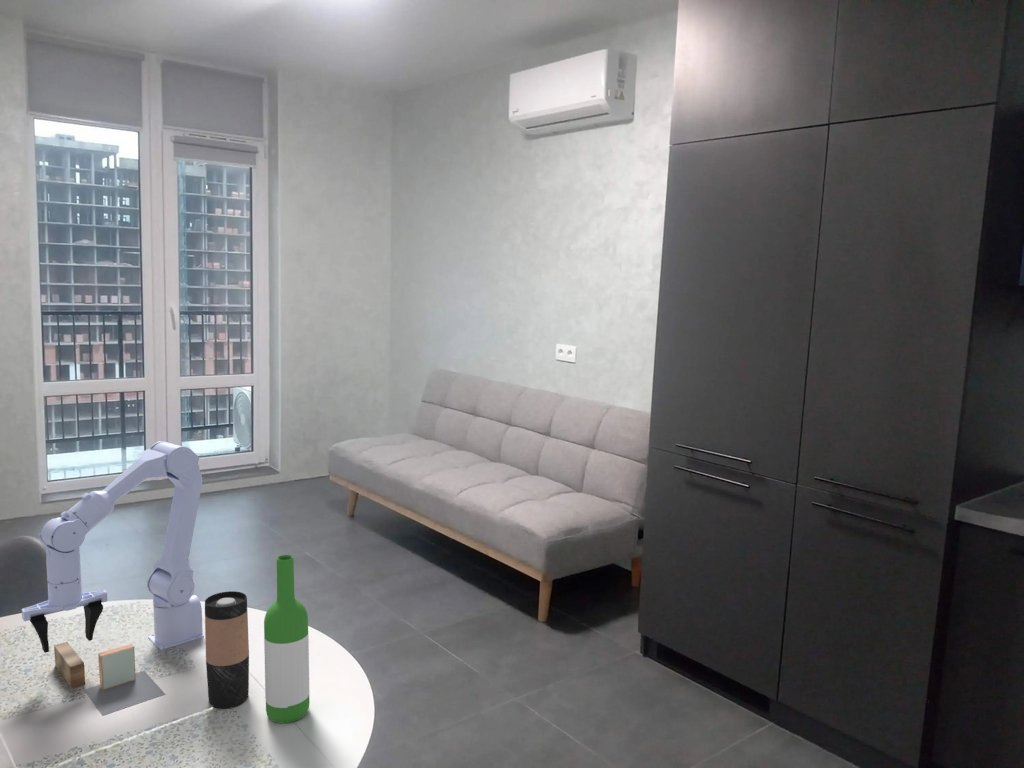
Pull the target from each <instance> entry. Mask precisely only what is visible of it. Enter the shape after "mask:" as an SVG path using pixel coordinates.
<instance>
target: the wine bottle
mask: <svg viewBox="0 0 1024 768" xmlns="http://www.w3.org/2000/svg"><path fill="white" fill-rule="evenodd" d="M294 566H295V565H294V556H293V555H291V554H290V555H289V554H283V555H280V556H278V557H277V558H276V600H275V601H273V603H271V605H270V606H269V607H268V608H267V611H266V613H265V615H264V621H263V628H264V629H263V632H264V634H263V640H264V642H263V643H264V644H263V645H264V649H263V650H264V651H263V652H264V687H265V688H264V689H265V690H264V692H265V695H264V696H265V697H264V699H265V712H266V716H267V718H268V719H269V720H271V721H272V722H274V723H278V724H286V723H287V724H288V723H292V722H293V723H294V722H297V721H298V720H300V719H302V718H303V717H305V716H306V714H307V713H308V712H309V709H310V653H309V652H310V649H309V648H310V647H309V642H310V641H309V640H310V639H309V615H308V611H307V609H306V606H305V605H304V604H303V603H302V602H301V601H300V600H298V599H296V597H295V569H294Z"/></svg>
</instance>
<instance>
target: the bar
mask: <svg viewBox="0 0 1024 768" xmlns="http://www.w3.org/2000/svg"><path fill="white" fill-rule="evenodd" d="M53 651H54V652H53V654H54V665H55V667H56V669H57V671H58V672H59V673H60V675H61V676H62V678H63V679H64V681H65V682H66V683H67V684H68V686H69V687H70V689H75V688H79V687H82V686H85V685H86V673H85V662H84V661H83V659H82V658H81V657H80V656H79V655H78V653H77V652H76V651H75V649H74V648H73V647H72V645H71V644H70V643H69V641H65V642H62V643H57V644H54V645H53Z"/></svg>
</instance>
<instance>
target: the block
mask: <svg viewBox="0 0 1024 768" xmlns="http://www.w3.org/2000/svg"><path fill="white" fill-rule="evenodd" d="M135 654H136V653H135V645H134V644H132V643H129V644H126V645H121V646H119V647H116V648H112V649H107V650H105V651H103V652H98V653H97V655H98V657H97V658H98V670H99V671H98V673H99V675H98V676H99V685H100V688H101V689H102V691H103V690H107V689H110V688H113V687H116V686H119V685H122V684H125V683H128V682H132V681H135V680H136V675H135V673H136V657H135Z"/></svg>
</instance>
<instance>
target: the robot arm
mask: <svg viewBox="0 0 1024 768" xmlns="http://www.w3.org/2000/svg"><path fill="white" fill-rule="evenodd" d="M199 461H200V456H198V454H196V452H195V451H193V450H192V449H191V448H190V447H187V446H184V445H178V444H175V443H171V442H169V441H167V440H160V441H156V442H155V443H153V444H152V445H151V446H150V447H149V448H147V449H145V450H143V451H142V453H140V455H139V457H138V458H137V459H136V460H135V461H134V462H133V463H131V465H130V466H128V467H127V468H126V469H125V470H123V472H122V473H120V474H119V476H117V477H116V478H114V479H113V481H111V482H110V483H109V484H108V485H107V486H106V487H104V489H102V490H93V491H91V492H89V493H88V492H85V493H83V495H81V500H79V501H78V502H77V503H75V504H74V505H73V506H72V507H70V508H69V509H68V510H66V511H65V510H64V511H62V512H61V513H60V517H56V518H55V517H54V518H52V519H50V520H48V521H46V523H45V524H44V525H43V528H42V530H41V533H38V537H39V539H40V541H41V542H42V543H43V544H44V545H45V554H46V557H45V558H46V559H45V560H46V561H45V562H46V563H45V565H46V579H47V596H48V597H47V598H48V599H47V600H45V601H42V602H38V603H36V604H33V605H31V606H26V607H23V608H21V619H22V620H23V622H27V621H29V622H30V623H31V625H32V627H33V629H35V631H36V632H35V633H36V634H37V636H38V639H39V641H40V644H41V649H42V651H43V652H44V653H49V652H50V646H49V645H50V644H49V637H48V636H49V635H48V634H49V633H48V631H49V630H48V629H49V622H48V621H47V617H46V616H47V615H51V614H55V613H59V612H60V613H61V612H64V611H65V612H67V611H71V610H76V609H77V608H80V607H83V610H84V621H85V622H84V623H85V625H84V626H85V627H84V628H85V629H84V630H85V631H84V632H85V639H86V640H87V641H88V642H89V641H93V640H94V639H93V638H94V632H95V628H96V625H97V623H98V620H99V618H100V616H101V614H102V613H103V610H104V604H102V603H106V602H108V592H107V590H105V589H101V590H95V591H87V592H83V588H82V572H81V571H82V570H81V569H82V568H81V552H80V547H81V546H82V545H83V543H84V542H85V538H86V535H87V534H88V533H89V532H90V531H92V529H94V528H95V527H96V526H98V525H99V523H101V522H102V521H103V520H105V519H106V518H107V517H108V516H109V515H110V514H112V513H113V512H114V509H115V505H116V504H115V503H116V502H117V501H118V500H120V499H122V498H123V497H124V496H125V495H127V494H129V492H131V491H132V490H134V489H135V488H136V487H138V486H139V485H141V484H142V483H143V482H145V481H146V480H147V479H150V478H151V479H152V478H162V477H163V478H164V477H166V478H168V479H169V481H170V482H171V483H172V484H173V485H174V490H173V496H172V501H171V507H170V510H169V511H170V512H169V516H168V517H169V518H168V523H167V529H166V533H165V539H164V543H163V549H162V552H161V553H162V554H161V557H159V558H158V559H156V561H155V562H154V566H153V569H152V571H151V573H150V574H149V575H148V578H147V580H146V588H147V591H148V592H149V593H150V594H152V599H153V600H152V605H153V627H154V632H153V633H154V634H151V635H149V636H148V639H149V640H150V642H152V643H153V645H155V647H156V648H157V649H159V650H165V649H168V648H172V647H175V646H179V645H182V644H186V643H189V642H192V641H196V640H198V639H203V638H205V634H203V633H204V632H203V607H202V603H201V600H200V598H199V597H198V595H196V594H194V593H195V582H194V578H193V577H194V569H193V567H192V564H191V562H190V559H189V557H190V551H191V547H192V541H193V536H194V530H195V525H196V519H197V515H198V509H199V504H200V503H199V502H200V499H201V498H200V497H201V494H202V493H201V492H202V488H203V475H202V473H201V469H200V466H199Z"/></svg>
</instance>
